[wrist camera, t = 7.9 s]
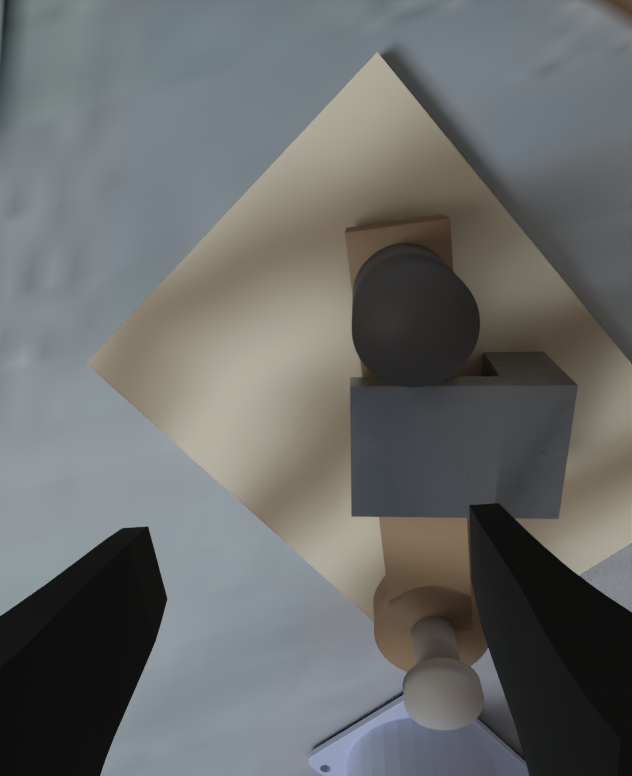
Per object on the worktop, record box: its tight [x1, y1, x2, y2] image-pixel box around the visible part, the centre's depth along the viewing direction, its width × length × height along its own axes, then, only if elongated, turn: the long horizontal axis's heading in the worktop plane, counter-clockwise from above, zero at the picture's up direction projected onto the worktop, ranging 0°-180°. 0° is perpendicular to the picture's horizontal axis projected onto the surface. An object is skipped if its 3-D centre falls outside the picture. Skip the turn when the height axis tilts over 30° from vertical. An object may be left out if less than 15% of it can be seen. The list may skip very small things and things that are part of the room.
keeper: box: [350, 351, 578, 519], centre depth 19 cm, size 6×4×4 cm
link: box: [345, 214, 488, 730], centre depth 18 cm, size 17×4×5 cm, turn 8°
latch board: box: [86, 52, 632, 621], centre depth 21 cm, size 19×14×1 cm
